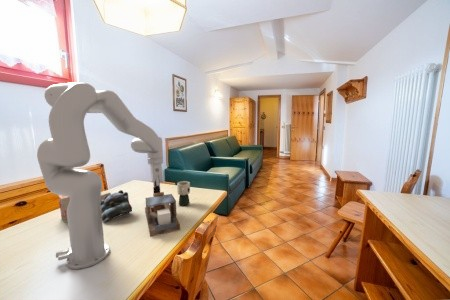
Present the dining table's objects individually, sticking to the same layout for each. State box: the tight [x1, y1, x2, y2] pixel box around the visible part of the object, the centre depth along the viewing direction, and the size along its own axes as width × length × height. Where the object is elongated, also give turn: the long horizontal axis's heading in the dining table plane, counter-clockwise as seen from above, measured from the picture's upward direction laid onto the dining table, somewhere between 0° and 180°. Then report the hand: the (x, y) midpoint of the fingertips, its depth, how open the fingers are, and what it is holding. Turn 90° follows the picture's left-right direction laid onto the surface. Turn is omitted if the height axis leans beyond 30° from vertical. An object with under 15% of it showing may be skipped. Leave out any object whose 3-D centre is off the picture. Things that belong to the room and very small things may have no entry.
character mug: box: [176, 180, 191, 206], centre depth 114 cm, size 11×7×13 cm, turn 10°
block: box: [157, 208, 171, 225], centre depth 87 cm, size 5×5×6 cm
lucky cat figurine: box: [101, 189, 133, 223], centre depth 100 cm, size 15×12×14 cm
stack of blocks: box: [58, 190, 112, 223], centre depth 103 cm, size 21×6×12 cm, turn 138°
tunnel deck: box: [144, 193, 181, 238], centre depth 95 cm, size 13×26×11 cm, turn 26°
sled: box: [152, 191, 176, 232], centre depth 91 cm, size 9×20×9 cm, turn 26°
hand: (157, 194), depth 104 cm, fingers closed
